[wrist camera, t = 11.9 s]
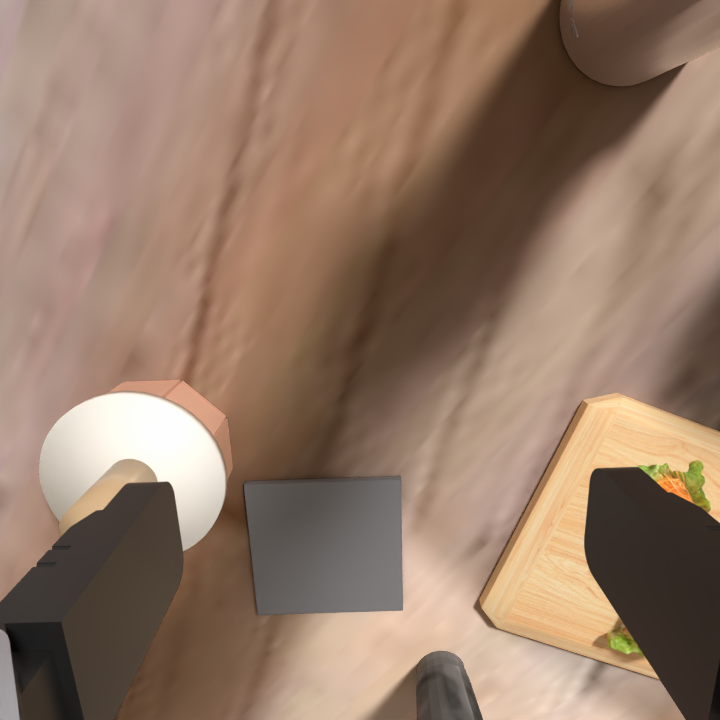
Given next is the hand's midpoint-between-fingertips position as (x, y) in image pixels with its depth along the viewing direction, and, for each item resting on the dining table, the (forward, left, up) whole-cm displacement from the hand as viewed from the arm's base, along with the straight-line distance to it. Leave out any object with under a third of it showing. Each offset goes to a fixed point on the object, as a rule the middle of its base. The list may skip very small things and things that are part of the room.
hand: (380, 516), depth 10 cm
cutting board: (-29, +25, -31) cm, 50 cm away
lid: (+17, +12, -25) cm, 33 cm away
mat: (+4, +22, -30) cm, 37 cm away
